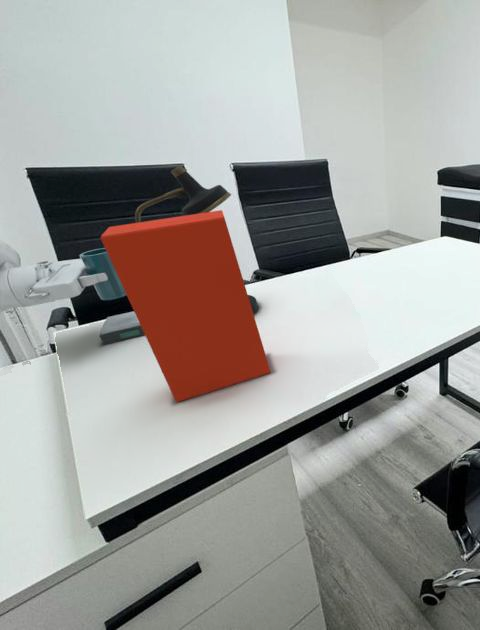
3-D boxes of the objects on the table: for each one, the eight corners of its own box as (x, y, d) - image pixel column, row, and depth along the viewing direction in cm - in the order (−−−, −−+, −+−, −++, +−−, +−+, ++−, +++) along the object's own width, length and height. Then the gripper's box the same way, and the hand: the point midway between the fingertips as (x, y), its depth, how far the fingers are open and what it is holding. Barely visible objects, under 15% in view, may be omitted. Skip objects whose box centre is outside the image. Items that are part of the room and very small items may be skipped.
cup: (98, 302, 91) (76, 258, 86) (103, 293, 96) (83, 251, 91) (129, 295, 94) (110, 252, 89) (133, 287, 99) (115, 246, 94)
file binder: (271, 373, 79) (224, 217, 64) (176, 403, 72) (99, 236, 58) (265, 355, 85) (221, 209, 71) (178, 381, 79) (109, 226, 64)
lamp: (265, 317, 103) (221, 163, 85) (173, 339, 95) (105, 175, 78) (260, 296, 116) (222, 159, 98) (180, 314, 109) (122, 169, 91)
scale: (103, 345, 95) (96, 333, 93) (110, 328, 103) (105, 317, 102) (159, 332, 99) (153, 320, 98) (162, 316, 108) (157, 305, 106)
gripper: (12, 286, 78) (95, 270, 83) (44, 259, 94) (112, 248, 99) (28, 313, 81) (107, 297, 86) (57, 283, 97) (122, 271, 102)
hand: (110, 271), depth 93 cm, fingers closed on cup, 6 cm apart
